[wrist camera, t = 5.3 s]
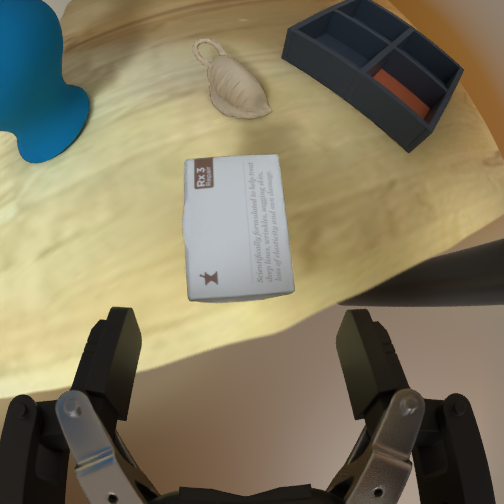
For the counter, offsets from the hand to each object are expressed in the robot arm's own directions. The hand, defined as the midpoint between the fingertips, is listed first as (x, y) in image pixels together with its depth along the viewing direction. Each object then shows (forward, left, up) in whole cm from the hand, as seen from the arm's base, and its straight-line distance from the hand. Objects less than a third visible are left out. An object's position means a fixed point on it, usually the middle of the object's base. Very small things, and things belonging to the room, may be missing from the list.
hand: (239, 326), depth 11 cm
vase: (+28, -1, -12) cm, 30 cm away
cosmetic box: (+3, -3, -12) cm, 13 cm away
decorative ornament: (+14, -15, -12) cm, 24 cm away
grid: (+5, -31, -12) cm, 34 cm away
